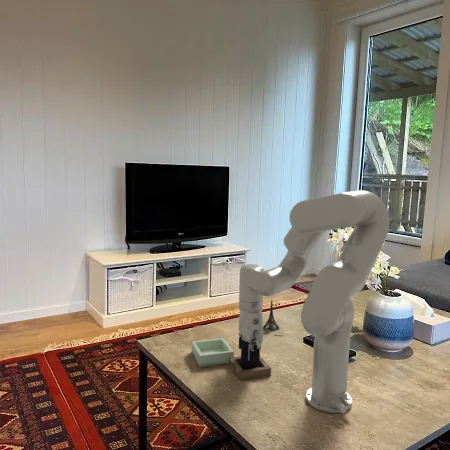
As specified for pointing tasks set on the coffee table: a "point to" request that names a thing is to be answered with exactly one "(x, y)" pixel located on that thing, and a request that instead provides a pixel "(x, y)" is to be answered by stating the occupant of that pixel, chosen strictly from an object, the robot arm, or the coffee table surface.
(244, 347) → the beverage can
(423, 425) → the coffee table surface
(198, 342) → the tray
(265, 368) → the socket block
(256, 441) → the coffee table surface
